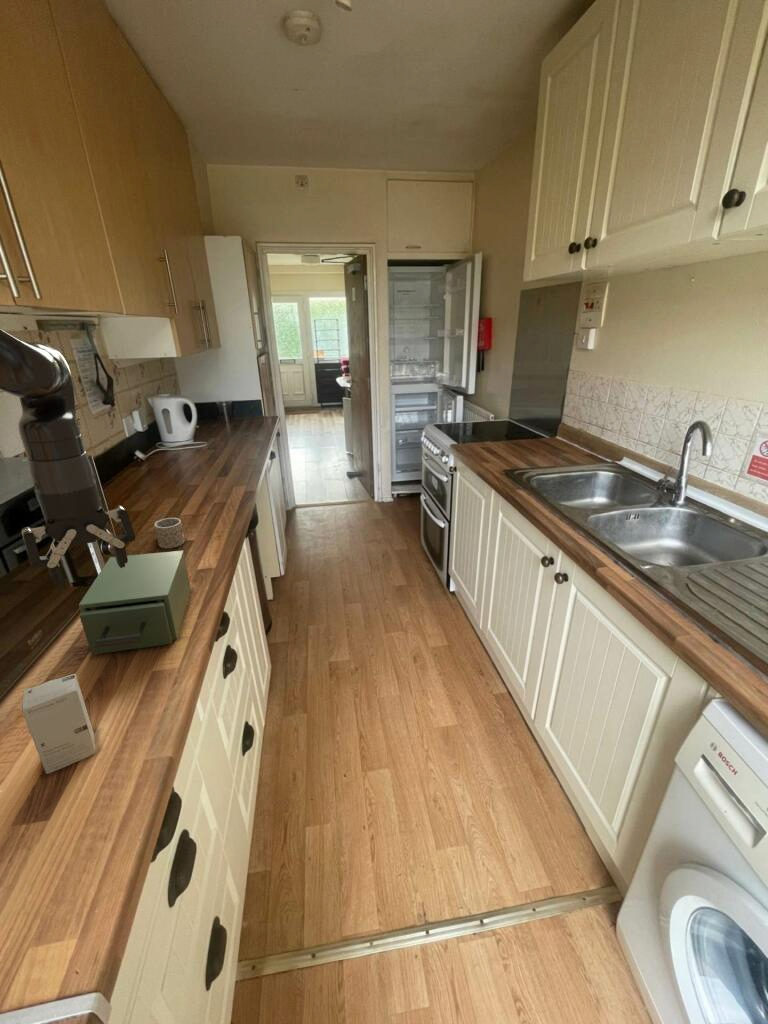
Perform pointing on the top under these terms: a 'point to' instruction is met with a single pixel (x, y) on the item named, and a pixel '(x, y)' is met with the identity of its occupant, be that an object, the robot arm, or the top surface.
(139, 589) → the cabinet
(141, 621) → the drawer
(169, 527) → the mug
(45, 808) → the top surface
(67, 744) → the cosmetic box
